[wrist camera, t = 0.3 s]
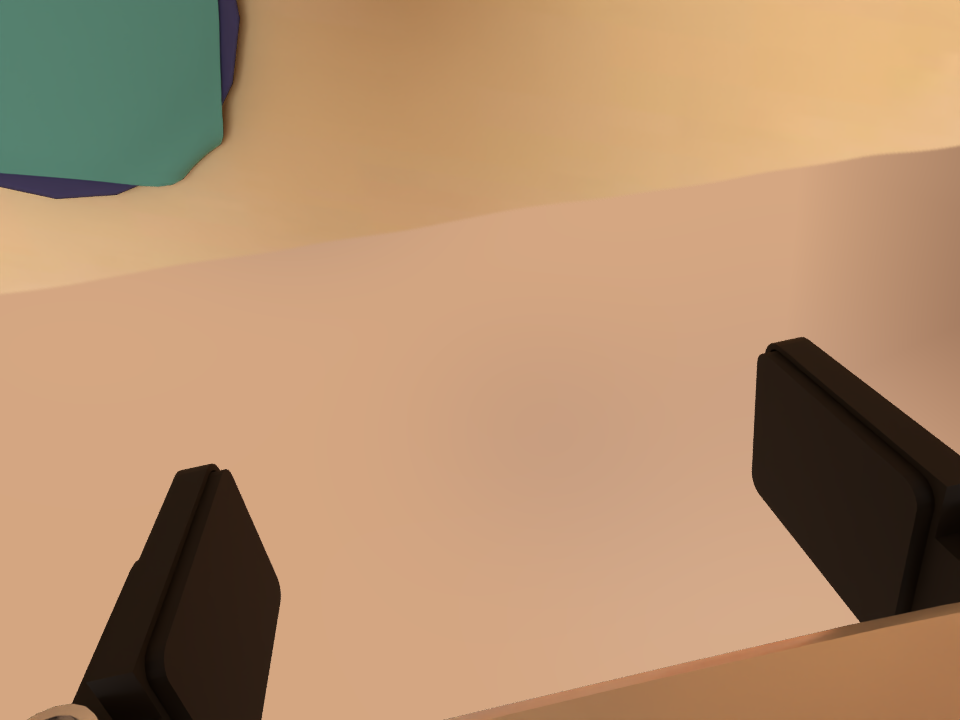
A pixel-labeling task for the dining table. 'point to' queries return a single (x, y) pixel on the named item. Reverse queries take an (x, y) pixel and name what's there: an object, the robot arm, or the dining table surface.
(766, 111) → the dining table surface
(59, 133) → the cutlery set
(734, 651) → the robot arm
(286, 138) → the dining table surface
